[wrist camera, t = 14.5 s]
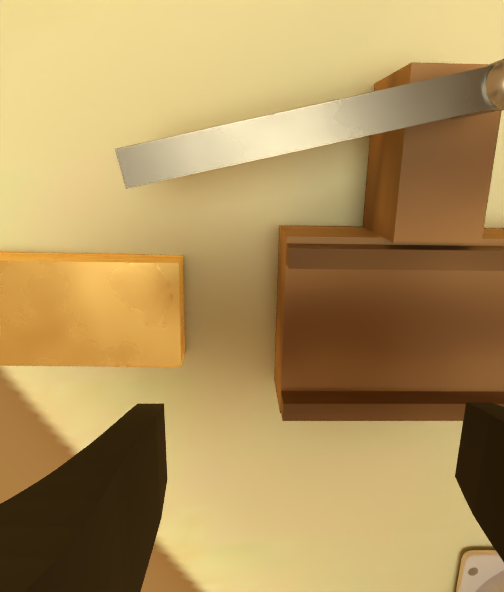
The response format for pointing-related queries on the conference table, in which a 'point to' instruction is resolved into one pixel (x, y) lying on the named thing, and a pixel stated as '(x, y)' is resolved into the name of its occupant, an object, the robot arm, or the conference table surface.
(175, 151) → the lever
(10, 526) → the robot arm
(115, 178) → the conference table surface
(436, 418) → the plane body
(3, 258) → the wooden block
